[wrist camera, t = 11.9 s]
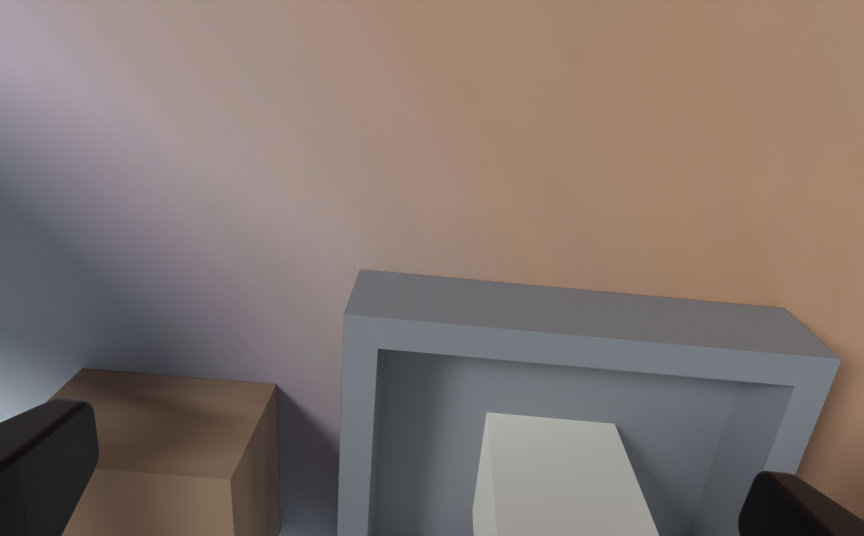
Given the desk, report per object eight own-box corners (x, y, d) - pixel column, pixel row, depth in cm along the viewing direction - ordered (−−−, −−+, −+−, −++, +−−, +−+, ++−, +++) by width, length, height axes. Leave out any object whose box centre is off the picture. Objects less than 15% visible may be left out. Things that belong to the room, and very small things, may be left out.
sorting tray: (347, 576, 25) (333, 650, 22) (360, 269, 20) (343, 314, 17) (679, 605, 25) (709, 683, 22) (783, 308, 20) (842, 359, 17)
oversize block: (110, 512, 24) (31, 627, 20) (85, 365, 22) (-14, 459, 17) (281, 526, 24) (241, 645, 20) (277, 381, 22) (230, 479, 17)
